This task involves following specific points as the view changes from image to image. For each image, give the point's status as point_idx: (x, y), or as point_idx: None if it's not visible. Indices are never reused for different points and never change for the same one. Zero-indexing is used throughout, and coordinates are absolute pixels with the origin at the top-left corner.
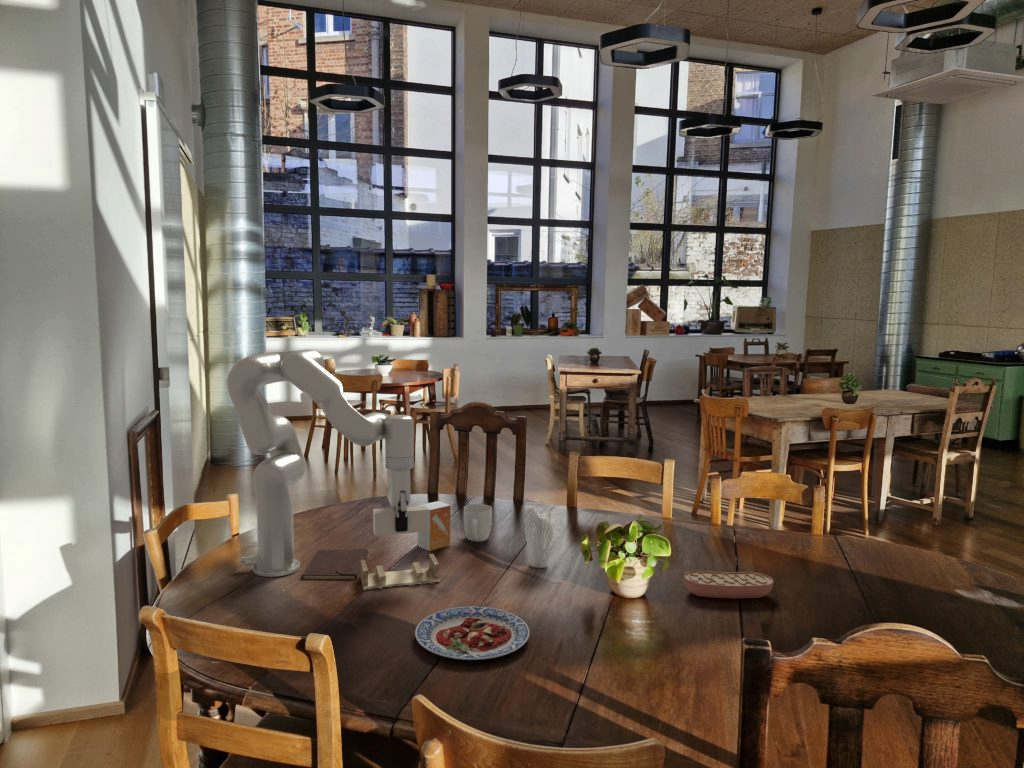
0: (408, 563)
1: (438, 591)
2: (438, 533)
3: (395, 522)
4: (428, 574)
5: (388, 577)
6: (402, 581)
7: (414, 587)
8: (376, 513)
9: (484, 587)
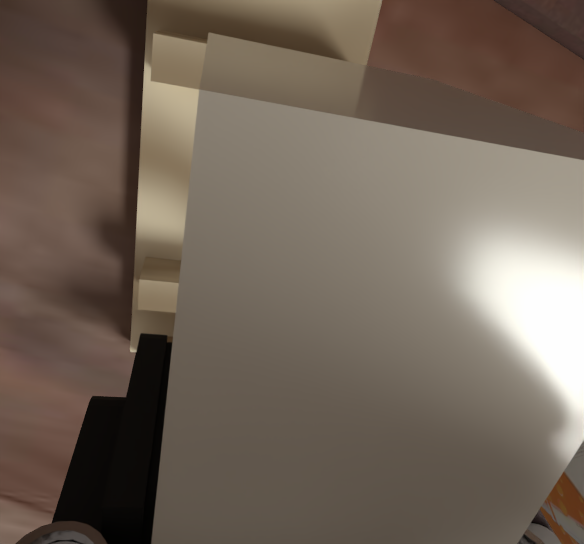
0: None
1: (18, 313)
2: None
3: (122, 424)
4: None
5: None
6: (167, 181)
7: (105, 223)
8: (192, 166)
9: (24, 476)
